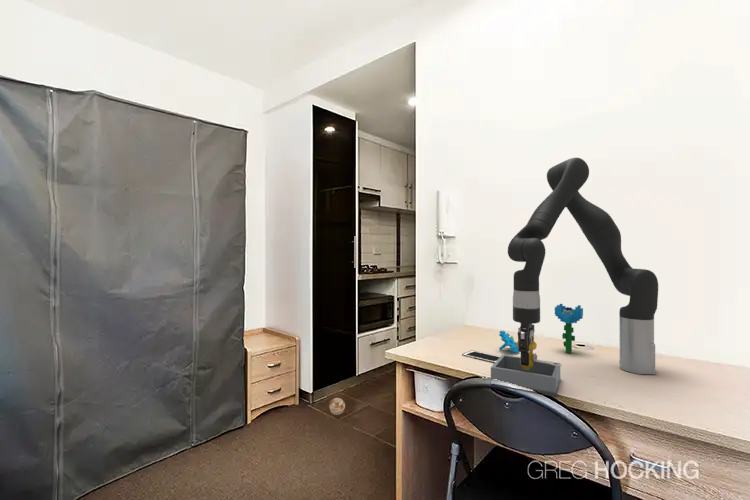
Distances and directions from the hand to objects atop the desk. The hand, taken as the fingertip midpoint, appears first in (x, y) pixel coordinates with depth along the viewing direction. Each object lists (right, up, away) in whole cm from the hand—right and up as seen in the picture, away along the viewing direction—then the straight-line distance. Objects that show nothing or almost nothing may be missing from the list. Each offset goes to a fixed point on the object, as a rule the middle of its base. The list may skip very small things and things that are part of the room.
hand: (526, 362), depth 107 cm
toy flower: (+29, -6, +31) cm, 42 cm away
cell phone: (-5, -6, +24) cm, 26 cm away
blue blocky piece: (+9, -7, +31) cm, 33 cm away
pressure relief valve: (+3, -2, -2) cm, 4 cm away
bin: (0, -6, 0) cm, 6 cm away
